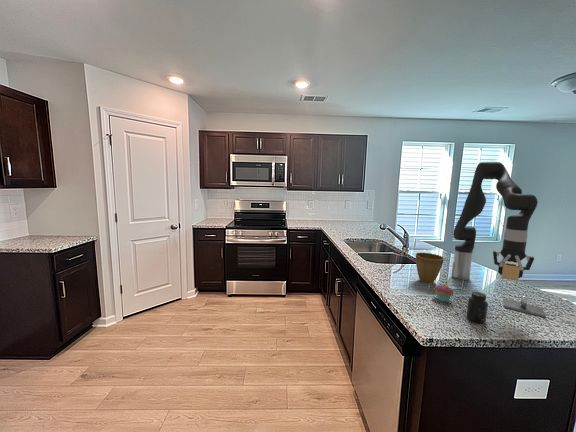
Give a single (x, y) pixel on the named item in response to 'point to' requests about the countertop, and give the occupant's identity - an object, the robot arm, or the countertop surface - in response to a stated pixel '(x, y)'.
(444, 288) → the cupcake
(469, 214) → the robot arm
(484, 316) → the supplement bottle
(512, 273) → the tan cube
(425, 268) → the plant pot
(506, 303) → the post fixture
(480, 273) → the countertop surface
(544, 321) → the countertop surface
